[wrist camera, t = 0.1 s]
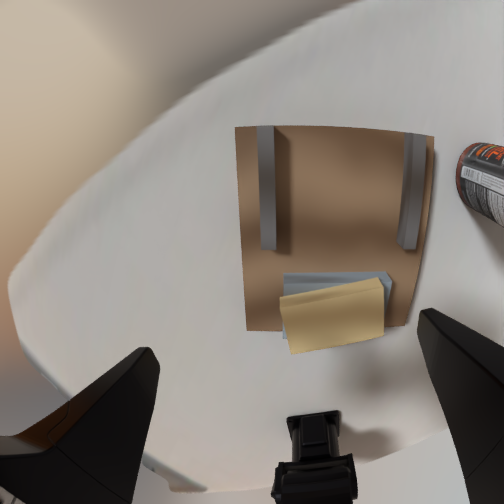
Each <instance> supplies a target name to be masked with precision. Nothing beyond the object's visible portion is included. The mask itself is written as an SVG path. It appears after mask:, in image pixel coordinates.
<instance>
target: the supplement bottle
mask: <svg viewBox="0 0 504 504" xmlns="http://www.w3.org/2000/svg"><path fill="white" fill-rule="evenodd" d="M456 184H457V189H458V191H459V194H460V196H461V198H462V199H463V201H464V202H465V203H466V204H467V205H468V206H470V207H471V208H473V209H474V210H476V211H478V212H479V213H481V214H483V215H484V216H486V217H488V218H489V219H491V220H493V221H494V222H496V223H498V224H499V225H501V226H502V227H504V147H502V146H498V145H494V144H488V143H474V144H472V145H470V146H469V147H467V148H466V149H465V150H464V152H463V153H462V155H461V156H460V158H459V161H458V164H457V169H456Z"/></svg>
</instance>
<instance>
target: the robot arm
mask: <svg viewBox="0 0 504 504" xmlns="http://www.w3.org/2000/svg"><path fill="white" fill-rule="evenodd" d="M417 335H418V339H419V342H420V346H421V349H422V352H423V355H424V359H425V362H426V366H427V369H428V372H429V376H430V378H431V381H432V383H433V386H434V388H435V391H436V393H437V396H438V399H439V401H440V404H441V407H442V409H443V412H444V415H445V418H446V420H447V423H448V426H449V429H450V432H451V435H452V438H453V441H454V445H455V448H456V451H457V454H458V458H459V461H460V465H461V468H462V472H463V476H464V479H465V484H466V488H467V492H468V496H469V501H470V504H504V347H502V346H501V345H499V344H497V343H495V342H494V341H492V340H490V339H488V338H487V337H485V336H483V335H481V334H479V333H478V332H476V331H474V330H472V329H470V328H469V327H467V326H465V325H463V324H461V323H459V322H458V321H456V320H454V319H452V318H450V317H448V316H446V315H445V314H443V313H441V312H439V311H437V310H435V309H433V308H428V309H424V310H421V311H420V314H419V321H418V328H417ZM159 374H160V365H159V362H158V360H157V358H156V357H155V355H154V353H153V351H152V349H151V348H150V347H139V348H137V349H136V350H135V351H133V352H132V353H131V354H129V355H128V356H127V357H126V358H124V359H123V360H122V361H120V362H119V363H118V364H116V365H115V366H114V367H112V368H111V369H110V370H109V371H107V372H106V373H105V374H103V375H102V376H101V377H99V378H98V379H97V380H95V381H94V382H93V383H91V384H90V385H89V386H87V387H86V388H85V389H83V390H82V391H81V392H80V393H78V394H77V395H76V396H74V397H73V398H72V399H70V401H68V402H66V403H65V404H64V405H62V406H61V407H60V408H58V409H57V410H55V411H54V412H53V413H51V414H50V415H48V416H46V417H45V418H43V419H42V420H40V421H39V422H37V423H36V424H34V425H33V426H31V427H29V428H28V429H26V430H24V431H23V432H21V433H19V434H16V435H13V436H0V504H131V503H132V500H133V494H134V490H135V485H136V481H137V476H138V472H139V467H140V463H141V458H142V454H143V450H144V446H145V442H146V438H147V433H148V429H149V425H150V422H151V418H152V414H153V410H154V405H155V400H156V393H157V386H158V380H159ZM287 425H288V429H289V433H290V437H291V440H292V462H279V465H278V467H277V468H275V480H274V484H273V487H272V491H271V497H273V498H274V499H275V502H276V504H353V501H352V500H355V499H357V497H358V487H357V477H356V472H355V466H354V461H353V456H352V453H351V454H347V455H343V456H340V454H339V445H338V437H339V412H338V411H331V412H325V413H318V414H310V415H302V416H293V417H288V418H287Z"/></svg>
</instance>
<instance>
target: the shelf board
mask: <svg viewBox="0 0 504 504" xmlns="http://www.w3.org/2000/svg"><path fill="white" fill-rule="evenodd" d="M235 140H236V160H237V179H238V197H239V214H240V232H241V248H242V265H243V281H244V297H245V312H246V327H247V331H283V339H287V340H288V344H289V348H290V352H291V354H297V353H303V352H309V351H314V350H320V349H325V348H330V347H336V346H340V345H345V344H350V343H355V342H359V341H364V340H368V339H372V338H376V337H381V336H384V327H394V326H405V323H406V319H407V316H408V312H409V308H410V304H411V301H412V297H413V292H414V288H415V284H416V280H417V275H418V270H419V266H420V261H421V255H422V250H423V244H424V239H425V232H426V226H427V219H428V211H429V203H430V194H431V184H432V172H433V155H434V137H433V136H427V135H421V134H414V133H405V132H397V131H388V130H377V129H366V128H352V127H333V126H250V127H235Z"/></svg>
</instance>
